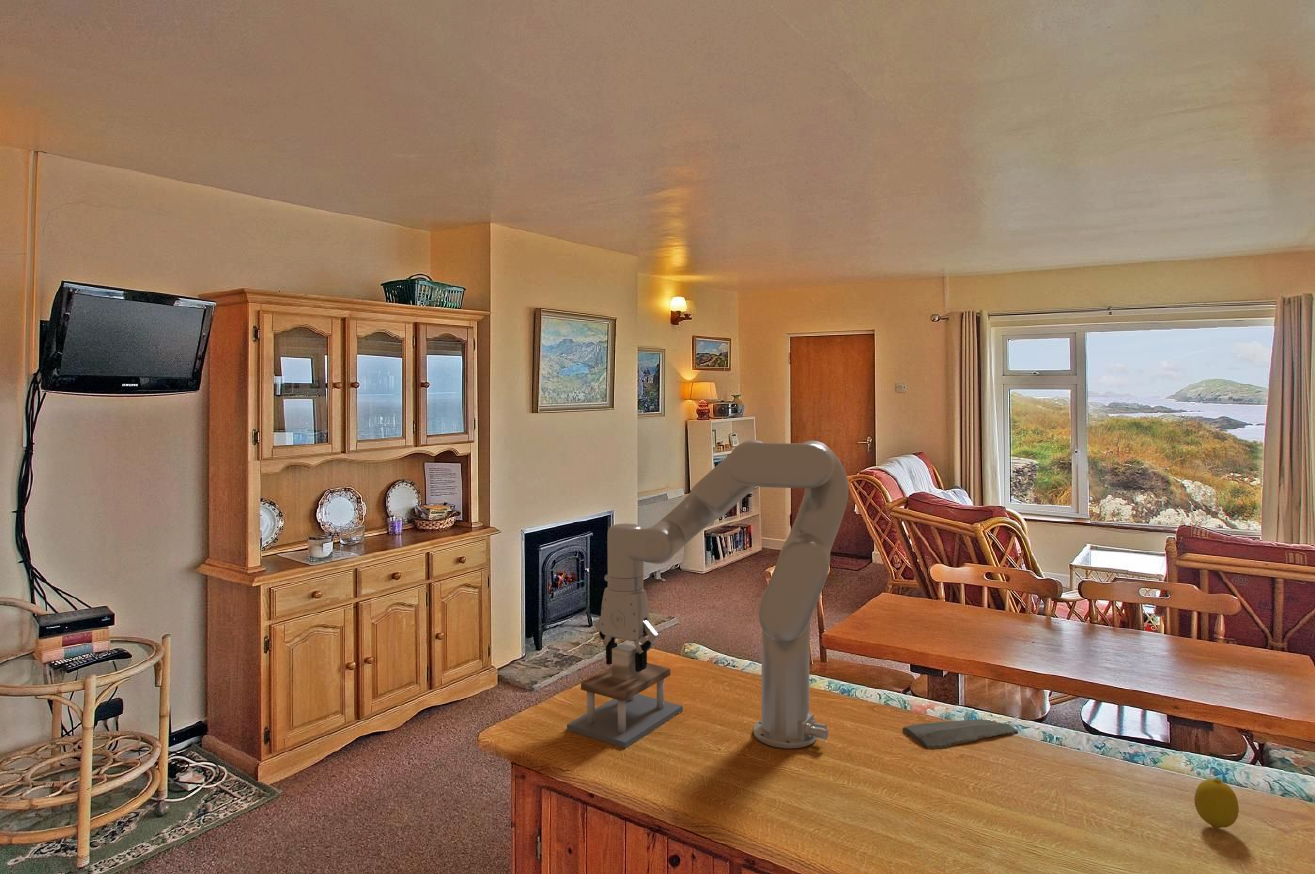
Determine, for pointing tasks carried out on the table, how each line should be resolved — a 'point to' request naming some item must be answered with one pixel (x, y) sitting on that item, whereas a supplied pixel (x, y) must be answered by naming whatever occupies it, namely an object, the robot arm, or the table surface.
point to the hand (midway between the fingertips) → (626, 665)
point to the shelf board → (624, 686)
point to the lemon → (1216, 803)
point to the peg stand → (624, 718)
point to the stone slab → (955, 732)
